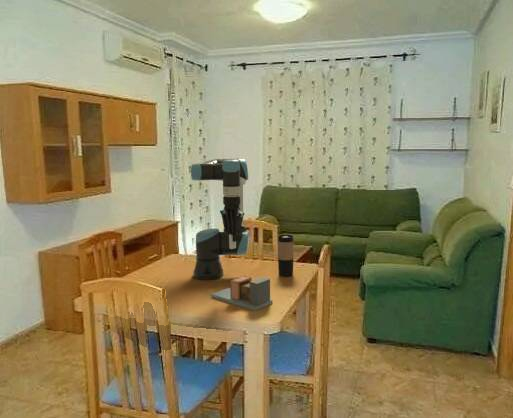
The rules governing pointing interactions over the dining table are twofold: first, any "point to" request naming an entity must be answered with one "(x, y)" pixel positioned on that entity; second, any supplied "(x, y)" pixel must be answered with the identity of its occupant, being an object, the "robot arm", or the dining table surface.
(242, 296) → the brown block
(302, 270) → the dining table surface
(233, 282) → the block
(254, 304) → the board
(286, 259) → the travel mug
